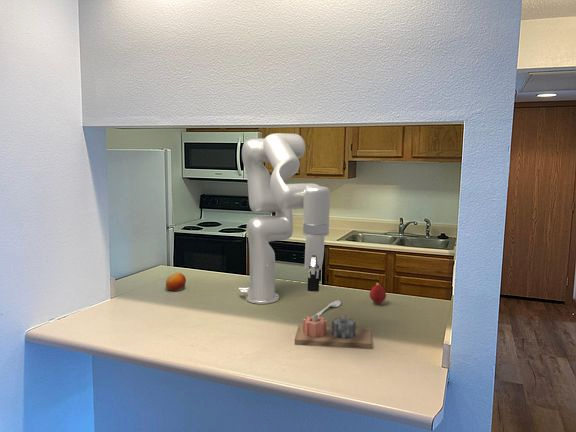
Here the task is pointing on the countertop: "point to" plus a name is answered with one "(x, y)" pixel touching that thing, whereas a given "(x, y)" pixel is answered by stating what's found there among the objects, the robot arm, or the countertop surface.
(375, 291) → the onion
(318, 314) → the spoon
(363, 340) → the gear board
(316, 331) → the pink gear
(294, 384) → the countertop surface
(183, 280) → the fruit
